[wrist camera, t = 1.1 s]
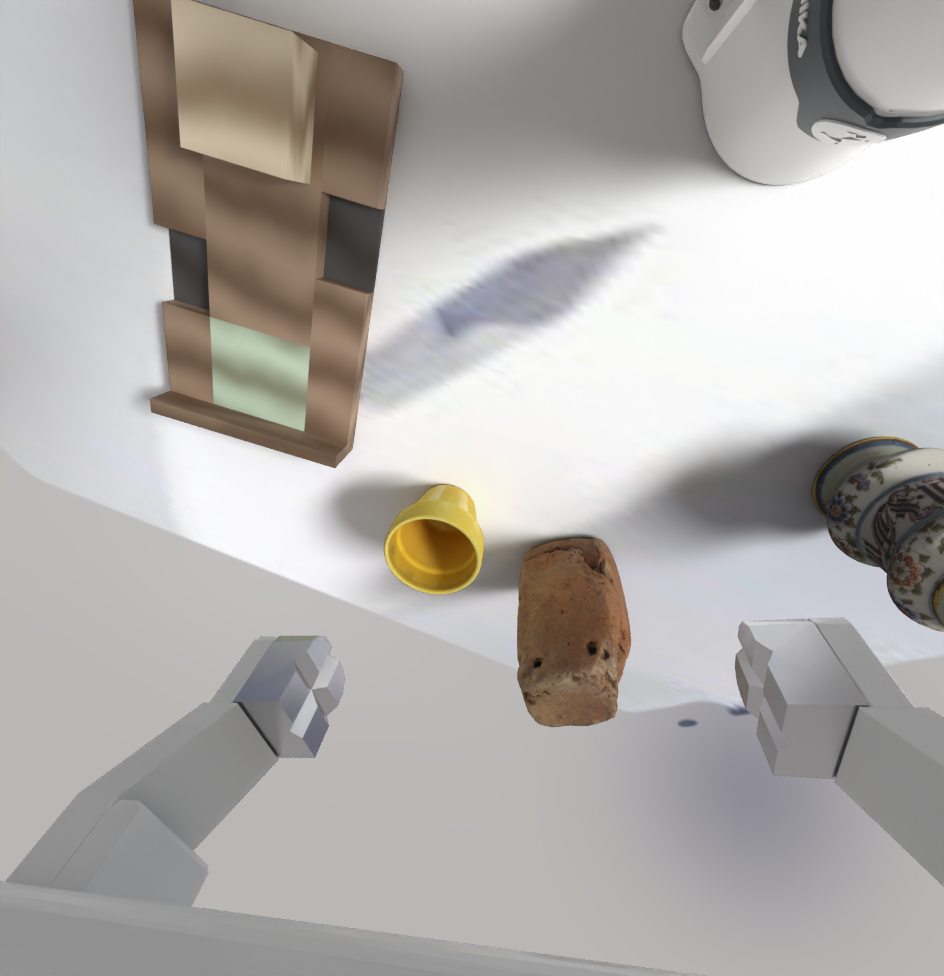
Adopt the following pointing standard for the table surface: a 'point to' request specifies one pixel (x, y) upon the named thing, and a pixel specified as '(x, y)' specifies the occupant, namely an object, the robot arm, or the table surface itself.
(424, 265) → the table surface
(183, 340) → the box
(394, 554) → the plant pot
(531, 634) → the block
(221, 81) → the maple block
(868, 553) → the apothecary jar
